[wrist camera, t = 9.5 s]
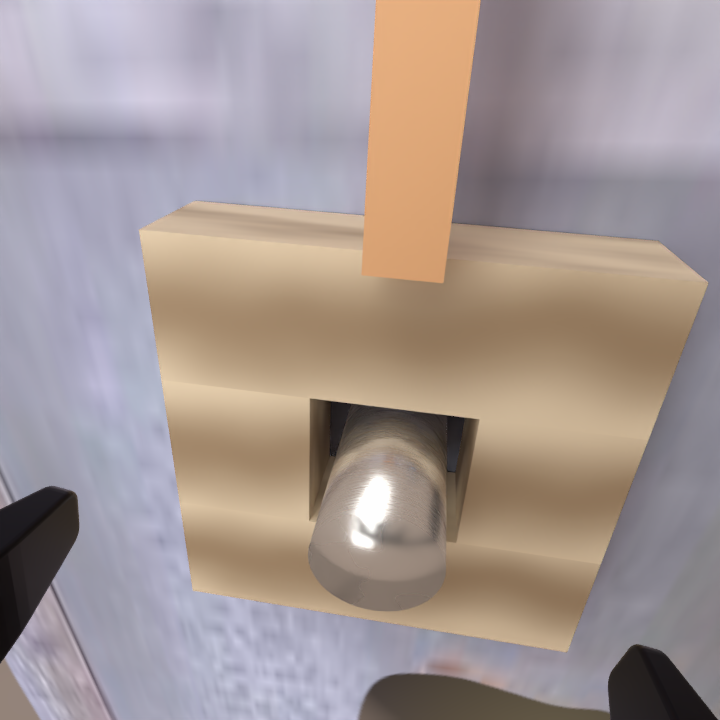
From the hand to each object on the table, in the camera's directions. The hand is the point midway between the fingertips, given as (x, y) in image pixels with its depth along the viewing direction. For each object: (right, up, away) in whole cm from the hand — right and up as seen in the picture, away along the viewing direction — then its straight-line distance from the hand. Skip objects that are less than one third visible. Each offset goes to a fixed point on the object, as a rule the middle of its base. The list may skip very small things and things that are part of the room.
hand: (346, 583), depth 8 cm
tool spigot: (+2, +1, +14) cm, 14 cm away
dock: (+2, +1, +14) cm, 14 cm away
